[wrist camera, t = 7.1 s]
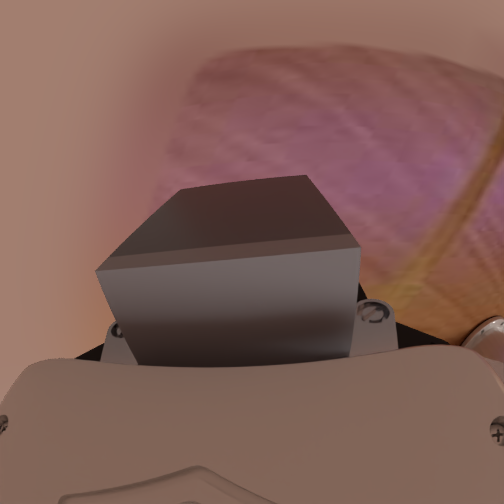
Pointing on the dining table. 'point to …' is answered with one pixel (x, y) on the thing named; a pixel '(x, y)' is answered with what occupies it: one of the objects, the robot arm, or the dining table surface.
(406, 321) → the dining table surface
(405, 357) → the robot arm
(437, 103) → the dining table surface
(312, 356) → the grey block
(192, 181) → the dining table surface
